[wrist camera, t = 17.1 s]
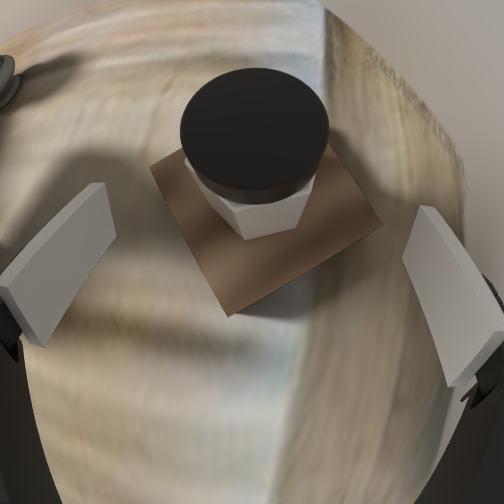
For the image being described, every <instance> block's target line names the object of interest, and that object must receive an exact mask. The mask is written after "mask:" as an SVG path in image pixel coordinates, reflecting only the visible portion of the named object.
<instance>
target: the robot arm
mask: <svg viewBox="0 0 504 504" xmlns="http://www.w3.org/2000/svg"><path fill="white" fill-rule="evenodd" d="M116 236H117V235H116V231H115V227H114V223H113V218H112V214H111V209H110V205H109V200H108V195H107V190H106V185H105V183H90V184H89V185H88V186H87V187H86V188H85V189H83V190H82V191H81V192H80V193H79V194H78V195H77V196H76V197H75V198H73V199H72V200H71V201H70V202H69V203H68V204H67V205H66V206H65V207H64V208H63V209H62V210H61V211H60V212H59V213H58V214H57V215H55V216H54V217H53V218H52V219H51V220H50V221H49V222H48V223H47V224H46V225H45V226H44V227H43V228H42V230H41V231H40V232H39V233H38V234H37V235H36V236H35V237H34V238H33V239H32V240H31V241H30V242H29V243H28V244H27V245H25V246H24V247H23V248H22V249H21V250H20V252H19V253H18V254H17V255H16V257H14V258H13V259H12V261H11V262H10V264H8V265H7V266H6V268H5V269H4V270H3V271H2V272H1V274H0V504H62V501H61V499H60V496H59V494H58V491H57V489H56V486H55V484H54V481H53V478H52V475H51V473H50V470H49V467H48V464H47V461H46V457H45V454H44V451H43V448H42V444H41V441H40V437H39V433H38V429H37V425H36V421H35V417H34V413H33V408H32V403H31V398H30V393H29V387H28V382H27V375H26V368H25V361H24V353H23V345H22V342H21V340H20V339H19V336H20V335H21V333H22V332H23V333H24V335H25V336H26V338H27V339H28V340H29V342H30V343H33V344H35V345H38V346H41V347H44V348H45V346H46V344H47V343H48V341H49V339H50V337H51V336H52V334H53V332H54V330H55V329H56V327H57V325H58V324H59V322H60V320H61V319H62V317H63V315H64V314H65V312H66V310H67V309H68V307H69V305H70V304H71V302H72V301H73V299H74V298H75V296H76V294H77V293H78V291H79V290H80V288H81V287H82V285H83V284H84V282H85V281H86V279H87V278H88V276H89V275H90V273H91V272H92V270H93V269H94V267H95V266H96V264H97V263H98V261H99V260H100V259H101V257H102V256H103V254H104V253H105V251H106V250H107V249H108V247H109V246H110V245H111V243H112V242H113V240H114V239H115V238H116ZM402 261H403V263H404V265H405V267H406V270H407V272H408V274H409V277H410V279H411V282H412V284H413V286H414V289H415V291H416V294H417V296H418V299H419V302H420V304H421V307H422V309H423V312H424V315H425V317H426V320H427V323H428V326H429V329H430V331H431V334H432V337H433V340H434V343H435V346H436V349H437V352H438V355H439V359H440V362H441V365H442V369H443V372H444V375H445V379H446V382H447V386H448V387H454V386H461V385H465V384H466V383H467V382H468V381H469V380H470V379H471V378H472V377H473V376H474V375H476V378H477V381H478V382H477V383H476V384H475V385H474V386H473V387H472V388H471V389H470V390H469V391H468V392H467V393H466V394H465V395H464V396H463V397H462V399H461V400H460V401H461V402H463V401H464V400H465V399H466V398H467V397H469V399H468V401H467V403H466V406H465V409H464V411H463V413H462V416H461V418H460V420H459V423H458V425H457V427H456V429H455V431H454V434H453V436H452V438H451V440H450V442H449V444H448V446H447V448H446V450H445V452H444V454H443V456H442V458H441V459H440V461H439V463H438V465H437V467H436V469H435V470H434V472H433V474H432V476H431V477H430V479H429V481H428V482H427V484H426V486H425V487H424V489H423V490H422V492H421V494H420V495H419V497H418V498H417V500H416V501H415V503H414V504H504V305H503V302H502V300H501V299H500V297H499V296H498V293H497V291H496V290H495V288H494V286H493V285H492V283H491V282H490V281H489V280H488V279H487V278H486V277H485V276H484V275H483V274H481V273H480V272H479V270H478V268H477V267H476V265H475V264H474V262H473V261H472V259H471V258H470V256H469V254H468V253H467V251H466V250H465V248H464V247H463V245H462V244H461V243H460V241H459V240H458V238H457V237H456V235H455V234H454V233H453V231H452V230H451V228H450V227H449V226H448V224H447V223H446V222H445V220H444V219H443V218H442V216H441V215H440V214H439V212H438V211H437V210H436V208H435V207H430V206H424V205H420V206H419V209H418V212H417V215H416V218H415V221H414V224H413V227H412V230H411V233H410V236H409V239H408V242H407V245H406V248H405V250H404V253H403V256H402Z"/></svg>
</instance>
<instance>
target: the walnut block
mask: <svg viewBox="0 0 504 504" xmlns="http://www.w3.org/2000/svg"><path fill="white" fill-rule="evenodd" d="M185 158H186V155H185V153H184V151H183V148H181V149H179V150H177V151H176V152H174V153H172V154H170V155H169V156H167V157H165V158H164V159H162V160H160V161H159V162H157V163H155V164H154V165H152V166H150V167H149V168H150V170H151V172H152V174H153V176H154V178H155V180H156V182H157V185H158V187H159V189H160V191H161V193H162V195H163V197H164V199H165V201H166V203H167V205H168V207H169V209H170V211H171V213H172V215H173V217H174V219H175V221H176V223H177V224H178V226H179V228H180V230H181V232H182V234H183V236H184V238H185V240H186V242H187V244H188V246H189V248H190V249H191V251H192V253H193V255H194V257H195V259H196V261H197V263H198V264H199V266H200V268H201V270H202V272H203V274H204V276H205V277H206V279H207V281H208V283H209V285H210V287H211V288H212V290H213V292H214V294H215V296H216V297H217V299H218V301H219V303H220V305H221V306H222V308H223V310H224V312H225V313H226V315H227V317H229V316H231V315H233V314H235V313H237V312H238V311H240V310H242V309H244V308H245V307H247V306H249V305H251V304H253V303H254V302H256V301H258V300H260V299H261V298H263V297H265V296H267V295H268V294H270V293H272V292H273V291H275V290H277V289H279V288H280V287H282V286H284V285H286V284H287V283H289V282H291V281H292V280H294V279H296V278H297V277H299V276H301V275H302V274H304V273H306V272H308V271H309V270H311V269H313V268H314V267H316V266H318V265H319V264H321V263H323V262H324V261H326V260H327V259H329V258H331V257H332V256H334V255H336V254H337V253H339V252H341V251H342V250H344V249H345V248H347V247H349V246H350V245H352V244H353V243H355V242H357V241H358V240H360V239H361V238H363V237H365V236H366V235H368V234H369V233H371V232H372V231H374V230H375V229H377V228H378V227H380V226H382V225H383V224H382V223H381V221H380V220H379V218H378V216H377V215H376V213H375V211H374V210H373V208H372V207H371V205H370V203H369V202H368V200H367V199H366V197H365V196H364V194H363V193H362V191H361V189H360V188H359V186H358V185H357V183H356V182H355V180H354V179H353V177H352V176H351V175H350V173H349V172H348V170H347V169H346V167H345V166H344V164H343V163H342V162H341V160H340V159H339V157H338V156H337V155H336V153H335V152H334V150H333V149H332V148H331V146H330V145H329V143H328V144H327V148H326V150H325V152H324V155H323V157H322V160H321V163H320V165H319V168H318V170H317V172H316V174H315V179H314V183H313V187H312V191H311V194H310V196H309V198H308V201H307V203H306V206H305V208H304V210H303V213H302V215H301V218H300V220H299V222H298V225H297V227H296V228H294V229H289V230H285V231H281V232H277V233H273V234H269V235H265V236H261V237H257V238H254V239H250V240H244V239H243V238H242V237H241V236H240V235H239V234H238V233H237V232H236V231H235V230H234V229H233V228H232V227H231V226H230V225H229V224H228V223H227V222H226V221H225V220H224V219H223V218H222V217H221V216H220V215H219V214H218V213H217V212H216V211H215V210H214V209H213V208H212V207H211V206H210V204H209V202H208V201H207V199H206V198H205V196H204V194H203V193H202V191H201V189H200V188H199V186H198V184H197V183H196V181H195V179H194V178H193V176H192V175H191V173H190V171H189V170H188V168H187V166H186V165H185Z"/></svg>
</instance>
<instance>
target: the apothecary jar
mask: <svg viewBox="0 0 504 504" xmlns="http://www.w3.org/2000/svg"><path fill="white" fill-rule="evenodd" d="M14 69H15V61H14V59H13V57H11V56H9V55H2V56H1V55H0V113H2V112H3V111H5V110H6V109H7V108H8V107H9V106H10V105H11V104H12V102H13V101H14V100H15V98H16V97H17V96H18V94H19V92H20V90H21V88H22V86H23V82H24V77H23V76H22V75H21V74H17V75H14V76H13V73H14Z"/></svg>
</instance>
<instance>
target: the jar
mask: <svg viewBox="0 0 504 504" xmlns="http://www.w3.org/2000/svg"><path fill="white" fill-rule="evenodd" d="M329 130H330V129H329V119H328V115H327V112H326V109H325V107H324V105H323V103H322V101H321V100H320V98H319V97H318V96H317V94H316V93H315V92H314V91H313V90H312V89H311V88H310V87H309V86H308V85H306V84H305V83H304V82H302V81H301V80H299V79H297V78H296V77H294V76H292V75H289V74H287V73H284V72H281V71H278V70H273V69H267V68H245V69H239V70H235V71H231V72H228V73H225V74H222V75H220V76H218V77H216V78H214V79H213V80H211V81H209V82H208V83H206V84H205V85H204V86H203V87H201V88H200V89H199V90H198V91H197V92H196V93H195V95H194V96H193V97H192V98H191V100H190V101H189V103H188V104H187V106H186V108H185V110H184V113H183V116H182V119H181V124H180V139H181V144H182V148H183V151H184V153H185V155H186V158H185V165H186V166H187V168H188V170H189V171H190V173H191V175H192V176H193V178H194V179H195V181H196V183H197V184H198V186H199V188H200V189H201V191H202V193H203V194H204V196H205V198H206V199H207V201H208V202H209V204H210V206H211V207H212V208H213V209H214V210H215V211H216V212H217V213H218V214H219V215H220V216H221V217H222V218H223V219H224V220H225V221H226V222H227V223H228V224H229V225H230V226H231V227H232V228H233V229H234V230H235V231H236V232H237V233H238V234H239V235H240V236H241V237H242V238H243V239H244V240H250V239H254V238H257V237H261V236H265V235H269V234H273V233H277V232H281V231H285V230H289V229H294V228H296V227H297V225H298V222H299V220H300V218H301V215H302V213H303V210H304V208H305V206H306V203H307V201H308V198H309V196H310V194H311V191H312V187H313V183H314V179H315V174H316V172H317V170H318V168H319V165H320V163H321V160H322V157H323V155H324V152H325V150H326V148H327V144H328V140H329Z"/></svg>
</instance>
